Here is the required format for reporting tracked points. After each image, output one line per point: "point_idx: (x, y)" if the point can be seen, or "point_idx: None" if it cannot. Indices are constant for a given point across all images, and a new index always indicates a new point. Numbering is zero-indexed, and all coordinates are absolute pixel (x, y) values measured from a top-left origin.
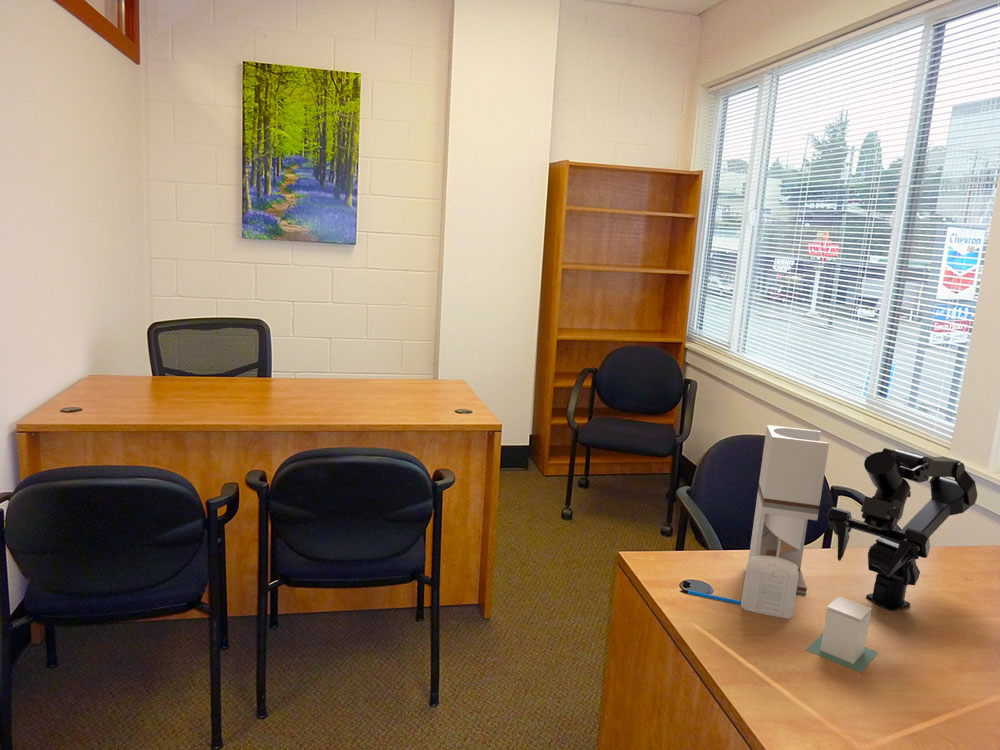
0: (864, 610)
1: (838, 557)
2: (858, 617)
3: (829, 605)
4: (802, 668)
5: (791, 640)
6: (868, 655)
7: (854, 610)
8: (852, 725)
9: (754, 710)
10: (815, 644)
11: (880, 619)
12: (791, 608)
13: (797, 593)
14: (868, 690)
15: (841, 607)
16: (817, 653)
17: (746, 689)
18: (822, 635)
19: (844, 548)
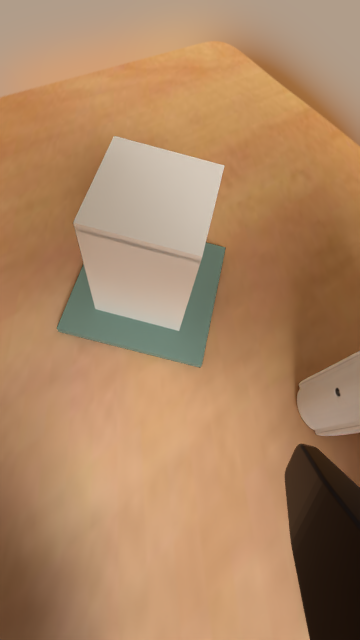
0: (101, 193)
1: (311, 447)
2: (121, 143)
3: (219, 174)
4: None
5: (262, 287)
6: (84, 296)
7: (136, 179)
8: (118, 92)
9: (251, 77)
10: (211, 280)
11: (21, 631)
12: (315, 374)
13: None
14: (90, 182)
15: (181, 178)
16: None
17: (277, 110)
18: (203, 335)
19: (332, 628)
